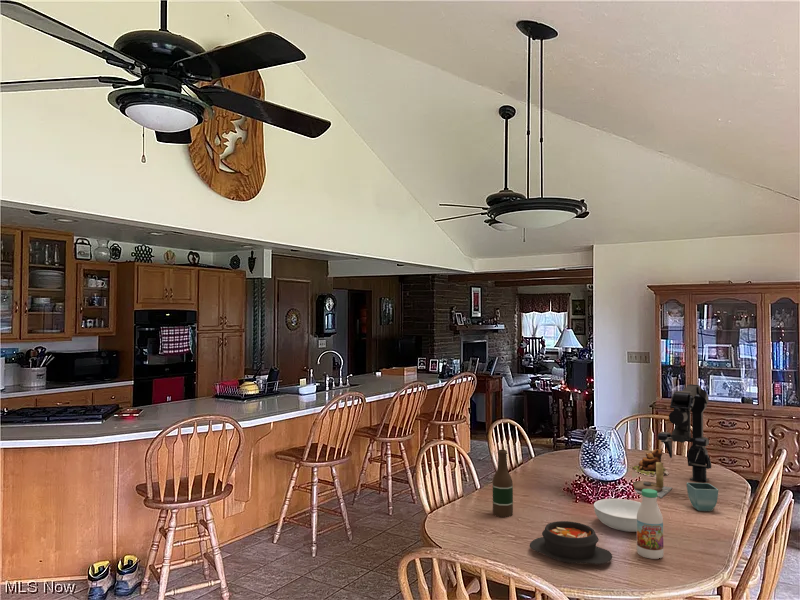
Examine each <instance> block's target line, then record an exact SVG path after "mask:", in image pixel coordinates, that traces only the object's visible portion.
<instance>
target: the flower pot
mask: <svg viewBox="0 0 800 600" xmlns="http://www.w3.org/2000/svg"><path fill="white" fill-rule="evenodd" d="M686 491H687V497H688V499H689V502H690V503H691V506H692V507H693V508H694V509H696V510H697V511H699V512H700V511H703V512H712V511H714V508H716V505H717V503H718V497H719V489H718V488H717V487H715V486H714V485H712V484H711V483H707V482H706V483H704V482H686Z"/></svg>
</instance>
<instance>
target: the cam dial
mask: <svg viewBox="0 0 800 600" xmlns="http://www.w3.org/2000/svg"><path fill="white" fill-rule="evenodd" d="M663 467H664V463H663V462H662V461H661V462H656V477H655V482H654V481H650V480H649V481H648V480H647V481H646V480H637V481H636V480H634V481H635V482H633V481H632V482H633V486H634V489H637V490H640V491H642V490H643V489H653V490H656V491H657V492H660V491H662V488H663V486H664V475H663Z"/></svg>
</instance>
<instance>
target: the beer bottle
mask: <svg viewBox="0 0 800 600" xmlns="http://www.w3.org/2000/svg"><path fill="white" fill-rule="evenodd" d="M497 455H498V456H497V468H496V472H495V473H494V475H493V478H492V512H493V516H495V515H496V516H495V517H498V516H499V517H498V518H510V517H513V515H514V513H513V512H514V495H513V494H514V486H513V479H512V477H511V475H510V473H509V470H508V459H507V457H508V456H507V455H508V451H507V450H506V449H498V450H497ZM509 516H510V517H509Z"/></svg>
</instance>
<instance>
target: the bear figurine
mask: <svg viewBox="0 0 800 600" xmlns="http://www.w3.org/2000/svg"><path fill="white" fill-rule="evenodd" d="M663 451H664V449H662V448H661V449H658V448H657V449H652V450H650V452H649V453H648V452H645V457H643V458H642V459H641V460H639V462H638V465H634V466H632V468H631V469H632V470H633V471H634V470H635V471H634V472H635V473H636V472H639V473H638V474H640V473H641V474H640V475H643V474H644V476H647V477H649V476H650V477H651V476H652V477H653V478H656V462H661V463H662V455H663ZM668 474H669V475H670V472H669V471H668V468H666V467H664V466H663V476H664V475H667V476H669V475H668Z"/></svg>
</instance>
